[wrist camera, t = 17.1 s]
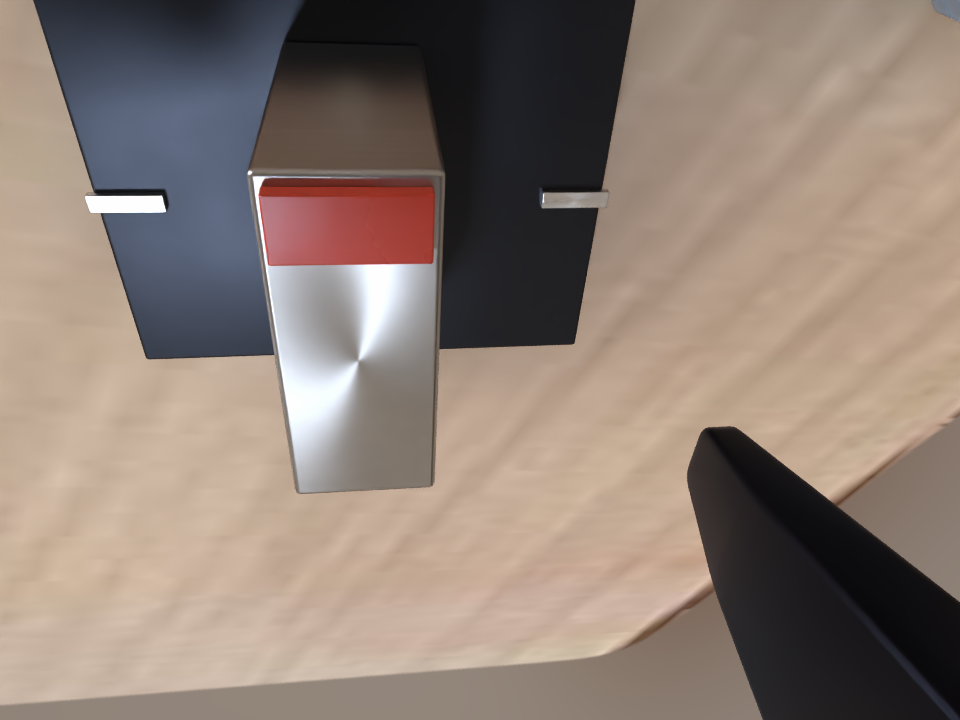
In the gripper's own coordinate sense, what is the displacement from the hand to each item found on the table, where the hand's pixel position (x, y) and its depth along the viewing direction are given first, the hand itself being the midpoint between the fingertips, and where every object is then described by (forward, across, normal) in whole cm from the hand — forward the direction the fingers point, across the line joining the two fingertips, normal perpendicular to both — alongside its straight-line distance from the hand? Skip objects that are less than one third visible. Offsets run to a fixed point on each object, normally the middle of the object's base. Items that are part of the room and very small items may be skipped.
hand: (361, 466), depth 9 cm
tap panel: (+10, 0, 0) cm, 10 cm away
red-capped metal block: (+7, 0, 0) cm, 7 cm away
